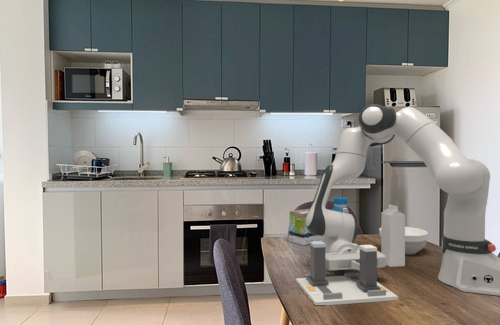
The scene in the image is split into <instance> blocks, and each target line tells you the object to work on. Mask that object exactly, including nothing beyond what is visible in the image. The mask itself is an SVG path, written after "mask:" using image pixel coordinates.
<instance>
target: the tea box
mask: <svg viewBox="0 0 500 325" xmlns="http://www.w3.org/2000/svg"><path fill="white" fill-rule="evenodd" d="M309 209H310V208H305V209H297V210H290V211H289V224H288V225H289V226H288V228H289V231H288V232H289V234H288V235H289V236H288V242H290V243H293V244H297V245H301V246H306V245H310V241H320V238H321V237H322V236H319V235H312V234H311V233H310V232H309V230H308V229H307V227H306V225H305V220H306V216H307V214H308V211H309Z"/></svg>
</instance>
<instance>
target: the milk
mask: <svg viewBox="0 0 500 325" xmlns="http://www.w3.org/2000/svg"><path fill="white" fill-rule="evenodd" d="M380 216H381V217H380V218H381V223H380V224H381V226H380V228H381V238H380V240H381V241H380V242H381V243H380V246H381V249H380V252H381V253H382V254H384V255H385V256H386V266H387V267H389V268H393V267H395V268H396V267H405V266H406V255H405V227H406V214H405V213H403V212H401V211H400V210H399V206H398V205H393V204H388V208H386V209H385V210H383V211H382V212H381V214H380Z"/></svg>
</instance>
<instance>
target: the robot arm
mask: <svg viewBox="0 0 500 325" xmlns="http://www.w3.org/2000/svg"><path fill="white" fill-rule="evenodd" d="M358 125H359V126H356V127H348V128H345V129H344V130H342V132H341V134H340V137H339V140H338V143H337V147H336V152H335V157H334V160H333V162H332V163H331V164H329V165H327V166H325V169H324V171H323V172H322V174H321V177H320V179H319V182H318V185H317V188H316V191H315V195H314V197H313V199H312V201H311V206H310V207H309V208H308V209H309V211H308V214H307V216H306V220H305V225H306V227H307V229H308V230H309V232H310V233H311V234H312V235H319V236H322V237H321V238H320V241H322V242H324V243H325V244H326V247H325V270H327V271H340V270H341V271H343V270H357V271H358V272H360V245H365V244H362V243H355V240H356V238H357V235H358V231H359V225H358V223H357V220H356V218H355V216H354V215H353V214H352V213H350V212H349V213H344V212H339V211H333V210H332V209H328V208H326V205H327V202H328V200H329V197H330V193H331V190H332V188H333V186H334V185H335V184H337V183H339V182H343V181H345V182H346V181H349V180H353V179H357V178H358V177H360V176H361V175H362V173H363V172H364V170H365V166H366V161H367V154H368V149H369V147H375V146H381V145H387V144H389V143H391V142H392V141H393V140H394V138H395V137H398V138H400V139H401V140H402V141H403V142H404V143H405V144H406V145H407V147H409V148H410V149H411V151H413V153H415V154H416V155H417V157H419V159H420V160H421V161H422V162H423V163H424V165H425V166H426V168H427V169H428V170H429V173H431V175H432V176H433V178H434V179H435V182H436V184H437V186H438V187H439V188H440V189H441V190H442V191H443V192H445V193H447V194H448V196H447V201H446V205H445V207H444V209H443V210H444V211H443V234H442V235H441V236H442V237H441V252H442V258H441V265H440V270H439V273H438V275H437V279H438V280H439V281H440V282H442V283H444V284H446V285H448V286H452V287H453V288H455V289H457V290H459V291H462V292H465V293H474V294H481V295H483V294H484V295H492V296H498V297H500V257H499V256H498V255H496V254H495V253H494V252H495V251H496V250H497V246H496V245H495V244H493V243H492V242H491V241H490V240H488V239H486V211H487V206H488V205H487V204H488V200H489V199H488V197H489V189H490V180H491V172H490V170H489V168H488V167H487V165H486V164H484V162H481V161H479V160H476V159H470V158H467V157H466V156H465V155H464V154H463V152H461V150H460V149H459V148H458V146H457V145H456V144H455V143H454V140H453V139H452V138H451V137H450V136H449V135H448V134H447V133H446V132H445V131H444V130H443V129H442V128H440V126H439V125H437V123H435V122H434V121H433V120H432V119H430V118H429V117H428V116H427V115H425V114H424V113H423V112H421V111H420V110H418V109H416V108H414V107H412V106H407V107H404V108H401V109H400V110H399V111H397V112H396V110H395V109H394V108H392V107H388V106H385V105H382V104H377V103H371V104H368V105H366V106H365V107H363V108H362V109H361V111H360V112H359V115H358ZM386 266H387V265H386V256H385V255H384V254H382V253H381V251H379V250H377V269H378V268H385V267H386Z"/></svg>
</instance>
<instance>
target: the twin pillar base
mask: <svg viewBox="0 0 500 325" xmlns="http://www.w3.org/2000/svg"><path fill="white" fill-rule="evenodd" d="M307 277H311V274H305V277H299V278H297V277H296V278H295V282H296V284H299V285H298V286H299V288H301V290H302V289H303V290H302V291H303V293H305V295H306V294H307V295H308V296H307V295H306V296H307V297H308V299H309V300H310V299H311V300H312V301H313V302H312V301H311V300H310V301H311V302H312V303H313V305H314V304H315V305H325V306H335V305H350V304H362V303H374V302H376V303H378V302H389V301H399V295H396V294H395V293H394V292H392V291H391V290H389V289H388V288H387V287H385V286H383V284H381V283H380V282H378V281H377V286H379V287H380V288H381V290H367V291H366V292H364V291H363V290H362V289H361V288H359V287H358V286H357V285H356V282H360V271H351V272H349V271H347V272H344V275H332V276H331V275H330V276H325V279H326V280H327V281H328V282H329V285H315V286H313V285H312V284H311V283H310V282H309V281H308V280H307ZM315 305H314V306H315Z"/></svg>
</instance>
